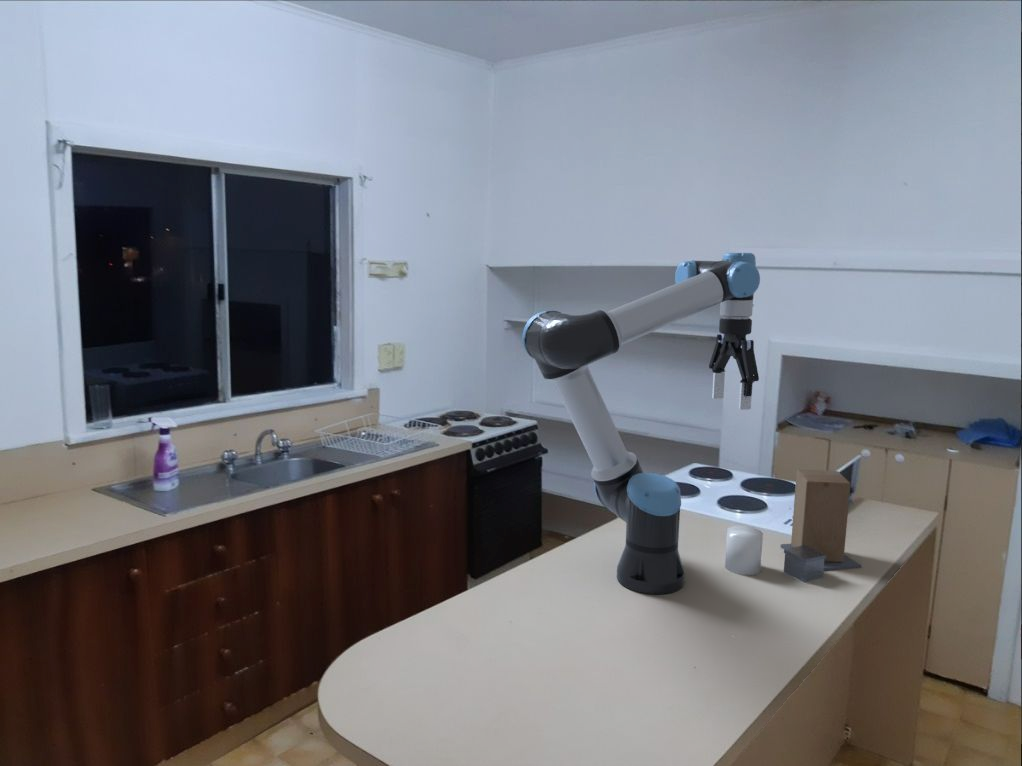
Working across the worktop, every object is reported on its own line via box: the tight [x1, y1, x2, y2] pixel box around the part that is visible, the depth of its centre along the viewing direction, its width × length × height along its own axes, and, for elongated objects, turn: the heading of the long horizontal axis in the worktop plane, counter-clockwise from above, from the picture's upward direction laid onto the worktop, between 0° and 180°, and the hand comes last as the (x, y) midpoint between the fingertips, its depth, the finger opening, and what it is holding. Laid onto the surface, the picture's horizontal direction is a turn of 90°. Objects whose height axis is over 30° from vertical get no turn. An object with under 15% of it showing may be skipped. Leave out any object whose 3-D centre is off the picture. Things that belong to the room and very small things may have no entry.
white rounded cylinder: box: [724, 525, 764, 576], centre depth 174 cm, size 8×8×9 cm
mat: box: [780, 543, 862, 572], centre depth 181 cm, size 12×15×1 cm
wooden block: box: [790, 469, 851, 563], centre depth 179 cm, size 10×10×20 cm
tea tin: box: [783, 545, 826, 583], centre depth 170 cm, size 6×6×6 cm
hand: (730, 403), depth 182 cm, fingers open, 13 cm apart
